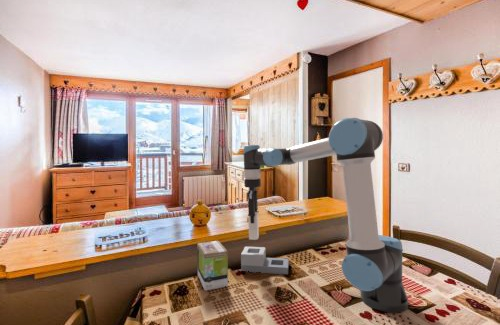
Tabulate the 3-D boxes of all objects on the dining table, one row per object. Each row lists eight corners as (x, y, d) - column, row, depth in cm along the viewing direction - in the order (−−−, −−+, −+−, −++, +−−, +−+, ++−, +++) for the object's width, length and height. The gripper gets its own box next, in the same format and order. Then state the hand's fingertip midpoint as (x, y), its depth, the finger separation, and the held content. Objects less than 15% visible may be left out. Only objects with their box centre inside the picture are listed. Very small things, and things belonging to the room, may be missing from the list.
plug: (257, 239, 122) (256, 213, 121) (247, 239, 122) (246, 213, 122) (258, 237, 125) (258, 211, 125) (248, 236, 126) (248, 211, 126)
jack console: (287, 274, 117) (287, 256, 117) (241, 271, 121) (241, 254, 120) (288, 264, 127) (288, 248, 127) (245, 262, 130) (245, 246, 130)
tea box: (228, 286, 107) (228, 250, 107) (204, 291, 104) (203, 254, 103) (219, 271, 121) (218, 239, 121) (197, 275, 118) (196, 242, 117)
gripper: (257, 180, 114) (259, 234, 115) (262, 176, 131) (263, 223, 131) (240, 180, 115) (242, 233, 116) (247, 176, 132) (248, 223, 133)
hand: (253, 228), depth 124 cm, fingers closed on plug, 4 cm apart
